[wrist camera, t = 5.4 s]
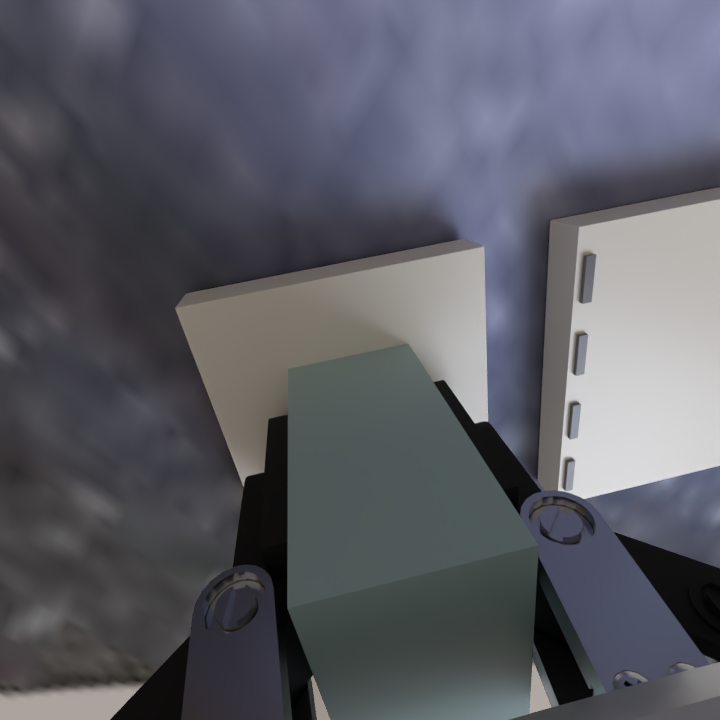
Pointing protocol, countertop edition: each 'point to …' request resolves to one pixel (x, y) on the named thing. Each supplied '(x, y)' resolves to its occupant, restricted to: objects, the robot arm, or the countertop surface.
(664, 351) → the ticket
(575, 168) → the countertop surface
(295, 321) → the stub
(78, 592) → the countertop surface
